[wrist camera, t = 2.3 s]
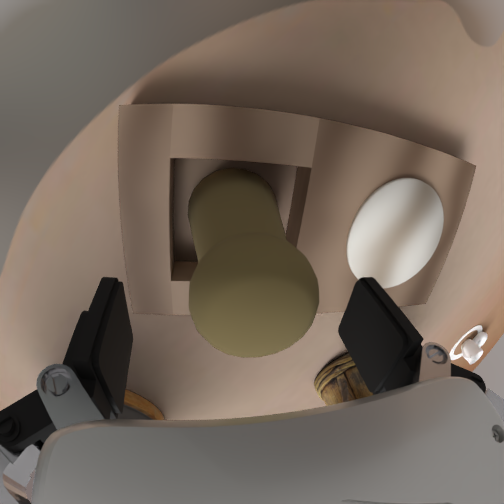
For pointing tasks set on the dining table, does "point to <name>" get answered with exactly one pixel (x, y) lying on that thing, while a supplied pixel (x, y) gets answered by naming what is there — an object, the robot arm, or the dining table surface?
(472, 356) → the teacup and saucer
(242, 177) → the cork
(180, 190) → the dining table surface
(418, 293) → the caddy board
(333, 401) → the wooden mug
